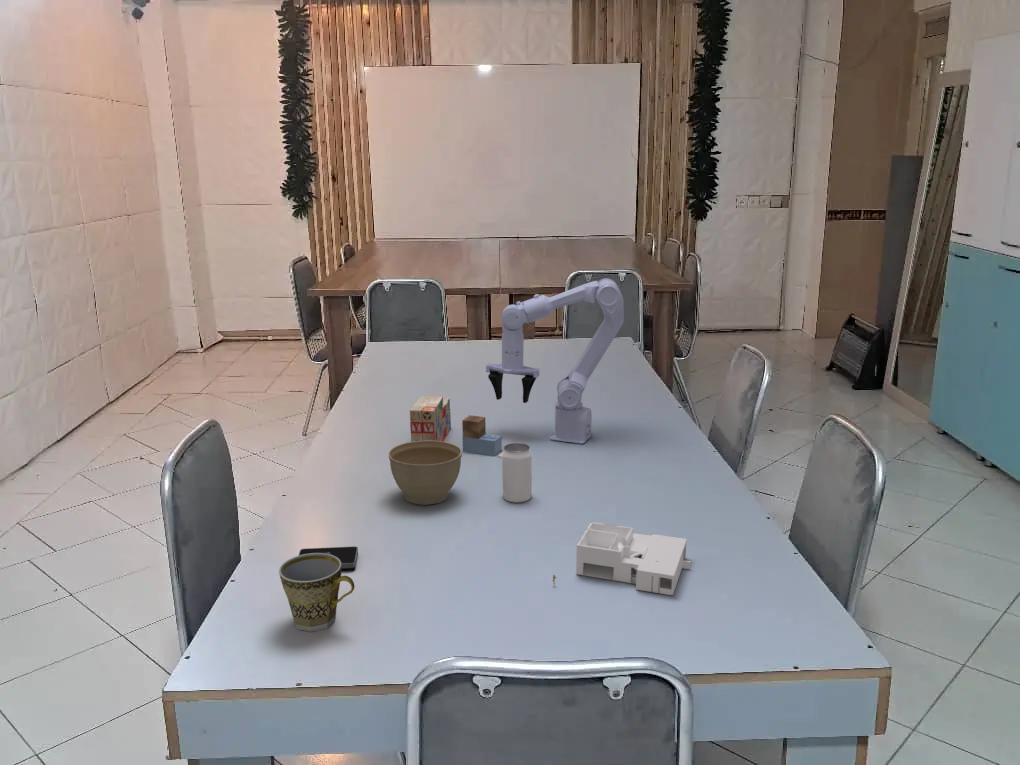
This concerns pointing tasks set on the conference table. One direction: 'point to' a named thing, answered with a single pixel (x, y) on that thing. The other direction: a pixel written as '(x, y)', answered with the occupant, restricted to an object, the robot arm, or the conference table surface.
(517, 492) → the can
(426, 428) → the stack of blocks
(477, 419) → the walnut brick
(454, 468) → the planter bowl
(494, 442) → the base brick
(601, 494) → the conference table surface
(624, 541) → the house
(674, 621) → the conference table surface
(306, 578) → the ceramic cup
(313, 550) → the external hard drive
